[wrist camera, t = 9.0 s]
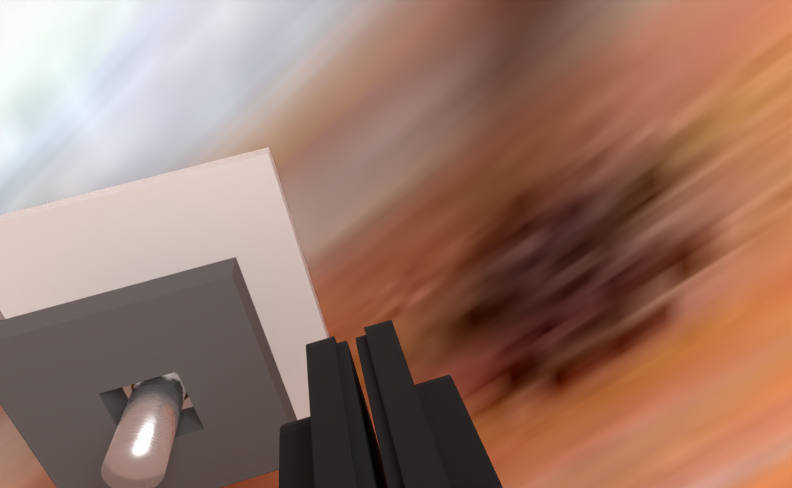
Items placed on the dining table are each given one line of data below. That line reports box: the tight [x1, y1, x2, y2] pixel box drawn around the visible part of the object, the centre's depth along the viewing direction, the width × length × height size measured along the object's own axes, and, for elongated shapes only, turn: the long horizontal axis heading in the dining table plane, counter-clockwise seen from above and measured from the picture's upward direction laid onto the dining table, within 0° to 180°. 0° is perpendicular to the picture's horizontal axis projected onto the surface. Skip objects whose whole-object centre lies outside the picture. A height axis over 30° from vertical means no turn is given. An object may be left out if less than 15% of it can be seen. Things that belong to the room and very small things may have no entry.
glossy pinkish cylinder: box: [101, 372, 188, 488], centre depth 33 cm, size 4×4×13 cm
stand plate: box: [0, 147, 330, 420], centre depth 40 cm, size 22×20×2 cm
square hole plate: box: [0, 257, 297, 488], centre depth 32 cm, size 14×14×2 cm
